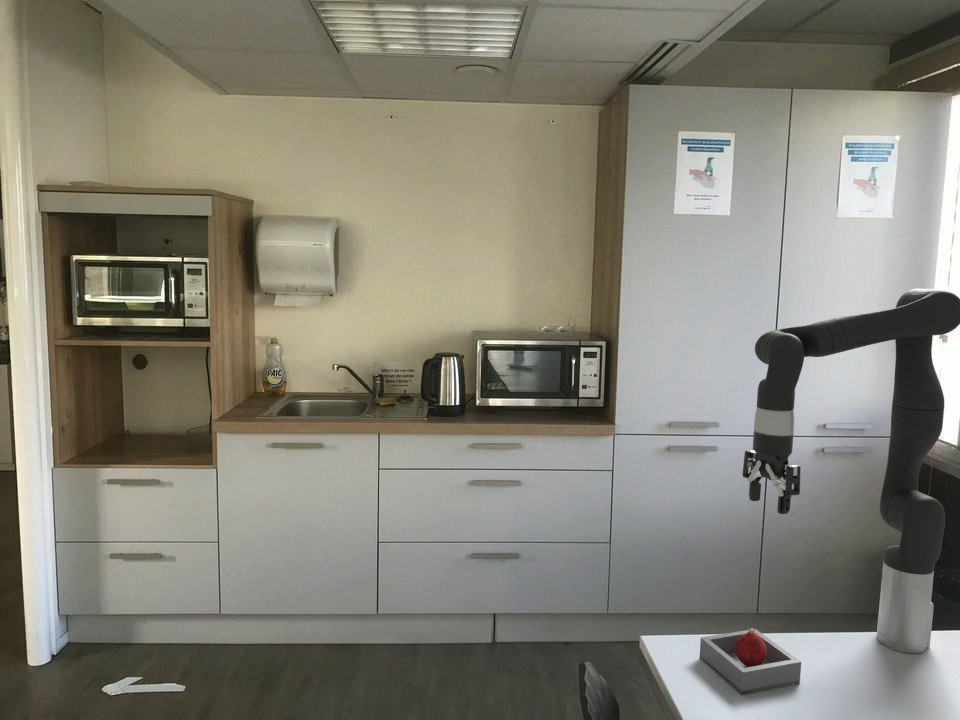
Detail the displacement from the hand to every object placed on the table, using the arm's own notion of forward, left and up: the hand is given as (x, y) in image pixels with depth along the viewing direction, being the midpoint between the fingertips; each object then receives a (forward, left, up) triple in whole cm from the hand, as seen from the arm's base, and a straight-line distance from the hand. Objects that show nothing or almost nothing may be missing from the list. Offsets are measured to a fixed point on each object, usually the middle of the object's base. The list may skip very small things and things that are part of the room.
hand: (768, 506), depth 148 cm
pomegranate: (+9, +8, -30) cm, 32 cm away
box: (+9, +8, -30) cm, 32 cm away
